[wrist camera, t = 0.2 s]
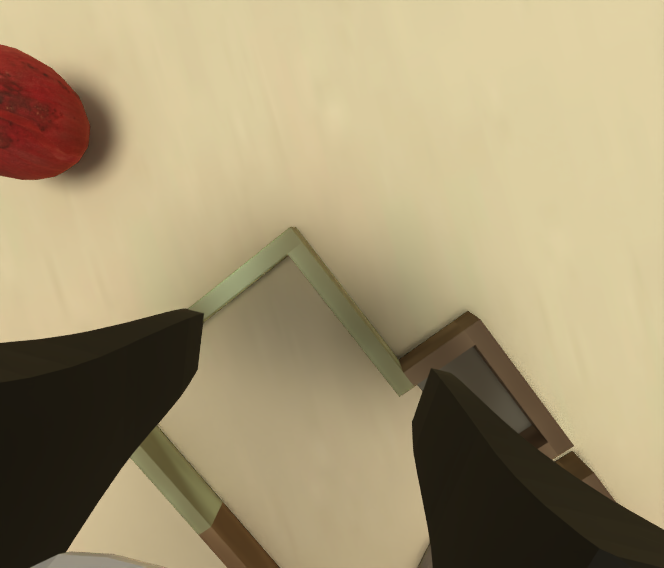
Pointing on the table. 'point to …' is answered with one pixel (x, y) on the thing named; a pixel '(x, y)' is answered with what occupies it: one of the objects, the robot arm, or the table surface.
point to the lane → (412, 369)
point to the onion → (38, 119)
